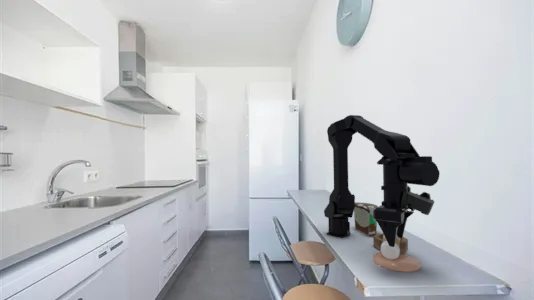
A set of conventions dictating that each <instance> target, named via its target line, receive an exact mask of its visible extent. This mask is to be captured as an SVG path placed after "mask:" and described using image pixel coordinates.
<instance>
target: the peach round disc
mask: <svg viewBox="0 0 534 300" xmlns="http://www.w3.org/2000/svg"><path fill="white" fill-rule="evenodd" d="M373 262H374V263H375V264H376V265H377V266H379V267H381V268H384V269H387V270H390V271H393V272H400V273H413V272H418V271H420V269H421V262H420V261H419V260H418V259H417V258H415V257H412V256H410V255H407V254H406V253H400V254H399V257H398V258H396V259H393V260H391V259H387V258H385V257H384V256H383V255H382V253H381V251H380V252H376V253H375V254H374V255H373Z"/></svg>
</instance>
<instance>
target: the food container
mask: <svg viewBox="0 0 534 300" xmlns="http://www.w3.org/2000/svg"><path fill="white" fill-rule="evenodd" d="M377 207H379V205H377V204H374V203H370V202H369V203H368V202H356V201H355V206H354V211H353V217H354V228H355V230H356V231H357V232H360V233H361V234H363V235H365V236H367V237H368V238H370V237H373V236H374V235H376V234H377V227H378V226H377V225H378V222H377V221H376V220H375V219H374V218H373V210H375V209H376V208H377Z"/></svg>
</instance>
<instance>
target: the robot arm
mask: <svg viewBox="0 0 534 300" xmlns="http://www.w3.org/2000/svg"><path fill="white" fill-rule="evenodd" d="M326 133H327V137H328V138H327V139H328V143H329V144H330V146H331V147H332V151H333V152H332V153H333V154H332V156H333V158H332V159H333V160H332V162H333V163H332V164H333V189H332V191H331V193H330V194H329V199H328V203H327V206H325V208H324V210H323V213H324V218H327V219H328V231H327V232H326V235H328V236H332V237H337V238H341V239H343V238H346V237H347V236H349V235H351V225H350V223H351V222H350V221H349V218H353V216H354V206H355V202H356V201H355V200H356V196H355V194H354V193H353V194H352V193H351V191H350V189H349V151H348V150H349V149H348V148H349V147H350V145H351V143H352V142H353V135H355V134H357V133H358V134H360V135H361V136H362V137H364V138H366V139H367V140H369V141H370V142H372V143H373V146H374V149H375V150H376V151H377V152H378V153H379V154H380V155H382V157H381V158H380V159H379V160H378V161H376V164H377V165H382V174H383V175H382V177H383V178H382V179H383V181H382V184H383V185H381V186H380V188H381V189H380V190H381V191H382V192H383V200H382V201H381V204H380V205H378V207H377V208H376V209H375V210H373V218H374V219H375V220H376V221H377V225H378V226H379V228H380V230H381V232H382V233H383V234H384V236H385V238H386V240H387V242H388V244H389V246H391V247H394V246H395V241H396V235H397V236H398V237H399V238H402V237H404V233H405V229H406V225H407V222H408V218H410V217H411V216H412V215H413V214H414V213H415V212H414V211H418V212H419V213H421V214H422V215H426V216H429V215H430V213H431V212H432V208H433V206H434V204H435V200H434V199H432V198H431V194H430V193H428V192H427V191H423V192H422V193H420V194H419V193H415V192H412V191H411V187H410V185H417V186H425V187H432V186H435V185H436V184H437V183H438V181H439V179H440V169H439V168H438V166H437V164H436V163H435V162H434V161H433V157H432V156H431V155H430V156H429V155H428V156H426V155H425V156H423V155H422V156H420V154H419V153H418V151H417V149H415V147H414V145H413V144H412V142H411V139H410V137H409V136H407V135H405V134H402V133H399V132H394V131H390V130H389V131H388V130H385V129H383V128H382V127H380V126H378V125H376V124H374V123H373V122H371V121H369V120H367V119H366V118H365V117H363V116H361V115H357V114H356V115H354V114H349V115H347V116H345V117H344V118H343V119H342V118H341V119H340V120H337V121H334V122H332V123H330V125H329V126H328V128H327V129H326ZM408 184H410V185H408Z"/></svg>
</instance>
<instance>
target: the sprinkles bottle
mask: <svg viewBox="0 0 534 300" xmlns="http://www.w3.org/2000/svg"><path fill="white" fill-rule="evenodd" d="M399 246H400V238H399V237H398V236H397V235H396V241H395V246H394V247H391V246H389V244H388V242H387V240H386V238H385V236H384V235H383V242H382V244H381V251H380V252H381V253H382V255H383V256H384V257H385V258H387V259H391V260H393V259H396V258H398V257H399V254H401V253H400V248H399Z"/></svg>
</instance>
